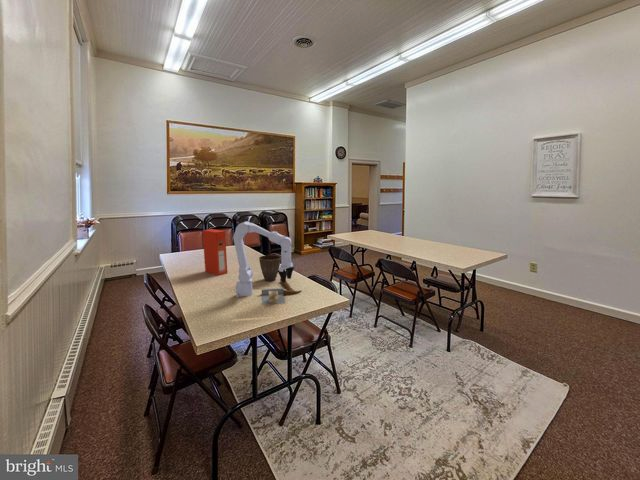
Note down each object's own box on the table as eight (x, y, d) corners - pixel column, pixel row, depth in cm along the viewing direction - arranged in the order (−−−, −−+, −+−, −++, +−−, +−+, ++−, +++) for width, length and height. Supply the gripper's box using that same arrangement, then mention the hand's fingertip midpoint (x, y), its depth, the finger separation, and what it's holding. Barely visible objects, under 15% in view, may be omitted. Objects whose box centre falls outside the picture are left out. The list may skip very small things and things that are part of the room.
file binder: (217, 275, 224) (215, 232, 219) (204, 271, 235) (202, 230, 229) (227, 273, 230) (225, 231, 225) (214, 269, 241) (212, 229, 235)
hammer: (275, 281, 210) (283, 295, 181) (276, 276, 209) (284, 290, 181) (292, 282, 213) (302, 297, 185) (292, 278, 213) (303, 292, 185)
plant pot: (283, 276, 222) (282, 255, 219) (278, 283, 208) (277, 260, 205) (263, 276, 224) (262, 254, 221) (256, 282, 209) (256, 259, 206)
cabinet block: (269, 303, 169) (268, 294, 168) (268, 299, 175) (268, 291, 174) (278, 303, 169) (278, 294, 169) (277, 299, 176) (277, 290, 175)
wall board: (261, 306, 167) (261, 299, 166) (261, 295, 184) (261, 288, 184) (285, 305, 169) (285, 298, 169) (283, 293, 187) (283, 287, 186)
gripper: (287, 261, 171) (287, 284, 174) (297, 255, 185) (297, 277, 187) (275, 260, 173) (276, 283, 176) (286, 255, 187) (286, 276, 189)
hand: (286, 280), depth 182 cm, fingers open, 7 cm apart
